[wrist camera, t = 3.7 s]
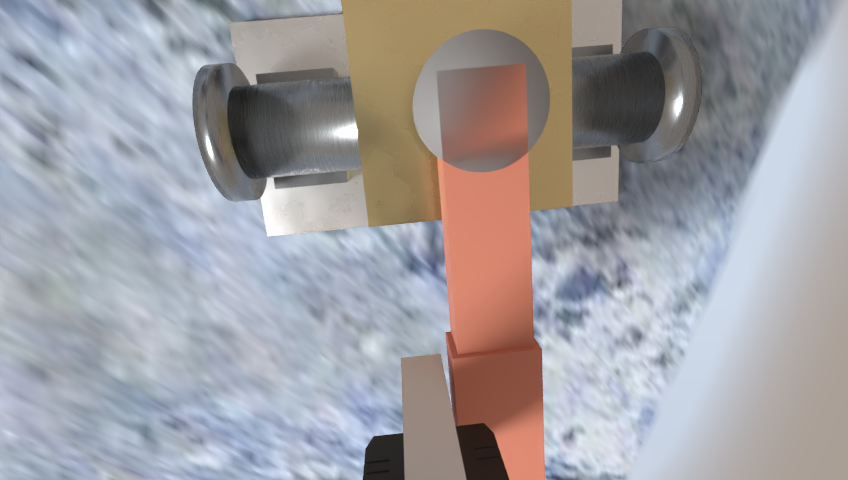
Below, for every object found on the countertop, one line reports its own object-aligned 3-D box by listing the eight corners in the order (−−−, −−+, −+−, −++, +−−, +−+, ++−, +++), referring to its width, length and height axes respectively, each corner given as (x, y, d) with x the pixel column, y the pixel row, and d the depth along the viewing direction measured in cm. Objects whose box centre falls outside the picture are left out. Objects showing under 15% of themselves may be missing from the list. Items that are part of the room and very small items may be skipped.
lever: (406, 47, 14) (408, 33, 12) (529, 37, 14) (551, 21, 12) (444, 468, 18) (450, 509, 16) (540, 456, 18) (558, 495, 16)
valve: (235, 27, 25) (88, -72, 13) (613, -3, 26) (802, -121, 14) (271, 232, 28) (180, 307, 16) (610, 199, 28) (764, 245, 17)
